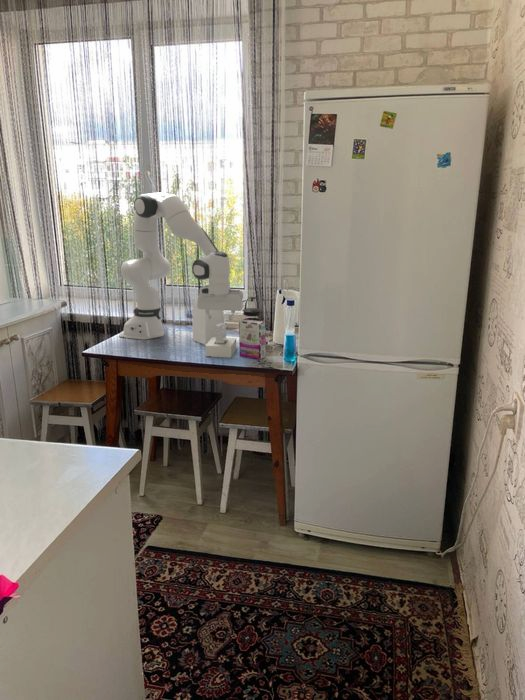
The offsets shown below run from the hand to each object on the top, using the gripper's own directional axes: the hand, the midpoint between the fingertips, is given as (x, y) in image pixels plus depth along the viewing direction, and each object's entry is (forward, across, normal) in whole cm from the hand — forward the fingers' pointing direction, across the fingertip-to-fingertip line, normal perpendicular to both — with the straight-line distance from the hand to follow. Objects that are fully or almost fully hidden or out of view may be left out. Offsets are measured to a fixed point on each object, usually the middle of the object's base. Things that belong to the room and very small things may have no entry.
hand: (220, 319), depth 234 cm
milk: (+16, +10, -19) cm, 26 cm away
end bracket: (+15, 0, 0) cm, 15 cm away
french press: (+16, -12, -14) cm, 24 cm away
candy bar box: (+15, -15, +5) cm, 22 cm away
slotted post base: (+15, 0, 0) cm, 15 cm away
